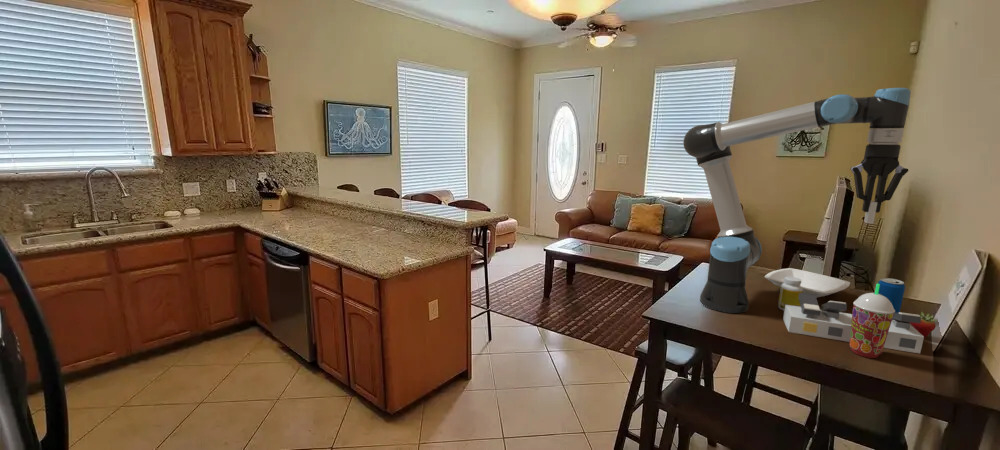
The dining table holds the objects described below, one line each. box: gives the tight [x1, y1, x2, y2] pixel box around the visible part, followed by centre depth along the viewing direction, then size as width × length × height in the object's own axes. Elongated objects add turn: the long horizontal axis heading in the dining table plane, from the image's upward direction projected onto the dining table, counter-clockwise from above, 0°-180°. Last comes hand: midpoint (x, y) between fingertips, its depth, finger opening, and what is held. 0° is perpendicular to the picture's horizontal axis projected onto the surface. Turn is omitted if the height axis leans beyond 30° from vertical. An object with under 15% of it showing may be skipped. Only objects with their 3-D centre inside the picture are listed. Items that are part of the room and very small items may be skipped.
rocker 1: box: [798, 293, 821, 316], centre depth 126 cm, size 4×8×2 cm, turn 154°
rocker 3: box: [892, 311, 921, 323], centre depth 117 cm, size 4×8×2 cm, turn 154°
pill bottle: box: [777, 277, 803, 312], centre depth 141 cm, size 6×6×11 cm
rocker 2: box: [820, 300, 848, 313], centre depth 124 cm, size 4×8×2 cm, turn 154°
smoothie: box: [848, 283, 895, 359], centre depth 111 cm, size 8×8×20 cm
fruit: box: [909, 310, 937, 339], centre depth 121 cm, size 5×5×8 cm
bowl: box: [764, 267, 851, 299], centre depth 156 cm, size 22×23×6 cm
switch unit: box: [782, 305, 925, 354], centre depth 123 cm, size 30×10×7 cm, turn 64°
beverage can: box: [877, 277, 906, 313], centre depth 136 cm, size 6×6×12 cm
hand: (868, 222), depth 126 cm, fingers closed
